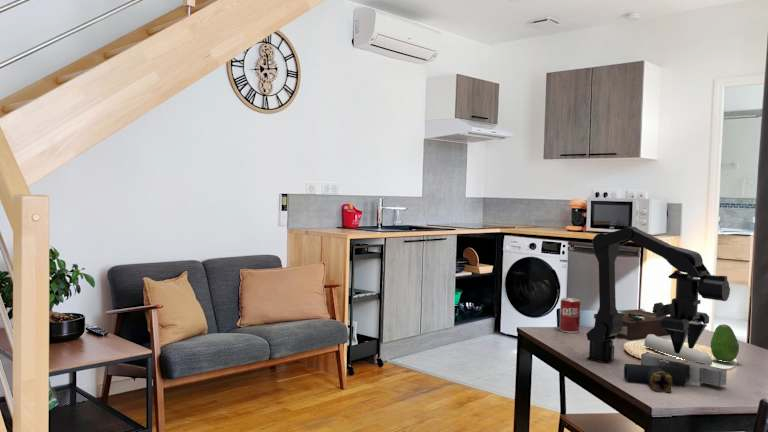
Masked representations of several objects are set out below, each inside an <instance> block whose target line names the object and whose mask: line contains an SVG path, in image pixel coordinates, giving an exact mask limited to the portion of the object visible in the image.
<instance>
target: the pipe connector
mask: <svg viewBox="0 0 768 432" xmlns="http://www.w3.org/2000/svg"><path fill="white" fill-rule="evenodd" d="M623 367H624V368H623V377H624V380H625V381H626V382H629V383H642V384H650V386H651V389H653V390H654V391H655V392H667V393H672V388H673V387H672V386H678V387H679V386H680V387H684V386H685V385H686V384H685V383H686V373H685V370H684V368H680V367H666V366H652V365H641V364H637V363H635V364H633V363H625V364H624V366H623Z"/></svg>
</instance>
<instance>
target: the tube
mask: <svg viewBox="0 0 768 432" xmlns="http://www.w3.org/2000/svg"><path fill="white" fill-rule="evenodd" d="M643 346H644V347H645V346H646V347H649V348H652V349H655V350H657V351H660V352H663V353H666V354H669V355H672V356H676V357H679V358H682V359H685V360H688V361H690V362H694V363H696V361H700V362H705V363H706V365H708V366H712V365H713V360H712V357H711V356H710V355H709V354H708V353H707V352H704V351H701V350H697V349H695V348H692V349H691V348H689V347H688V346H687V345H684V344H683V346H682V349H681V351H680V353H675V351H674V347H673V344H672V340H669V339H666V338H663V337H661V336H660V337H657V336H655V335H654V334H648V335H647V337H646V338H645V339H644V345H643ZM646 347H645V348H646ZM657 351H656V352H657Z"/></svg>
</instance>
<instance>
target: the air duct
mask: <svg viewBox="0 0 768 432" xmlns="http://www.w3.org/2000/svg"><path fill="white" fill-rule="evenodd" d="M660 360H666V361H667V362H669V367H680V368H684V370H685V373H686V379H689V372H690V366H694V365H695V366H697V367H700V368H701V369H700V382H702V383H703V384H707V385H710V386H716V387H719V388H720V387H723V386H725V385H727V372H728V370H727V368H721V367H717V366H716V367H715V366H712V365H711V366H708V365H703V364H699V363H694V362H690V361H688V360H684V359H683V360H681V359H676V358H672V357H667V355H663V354H658V353H652V352H649V351H647V352H645V353H643V352H642V353H641V354H640V365H652V366H659V361H660Z"/></svg>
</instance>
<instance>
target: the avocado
mask: <svg viewBox="0 0 768 432" xmlns="http://www.w3.org/2000/svg"><path fill="white" fill-rule="evenodd" d="M739 349H740V344H739V341H738V339H737V336H736V335H735V333H734V330H733V329H732V327H730V325H727V324H719V325H718V326H717V327H715V329H714V332H713V333H712V336H711V340H710V351H711V354H712V356H713V357H714V359H716V360H717V361H718V360H722V361H731V362H733V361H734V360H735V359H736V358H737V356H738V355H739V352H740V350H739Z"/></svg>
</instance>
